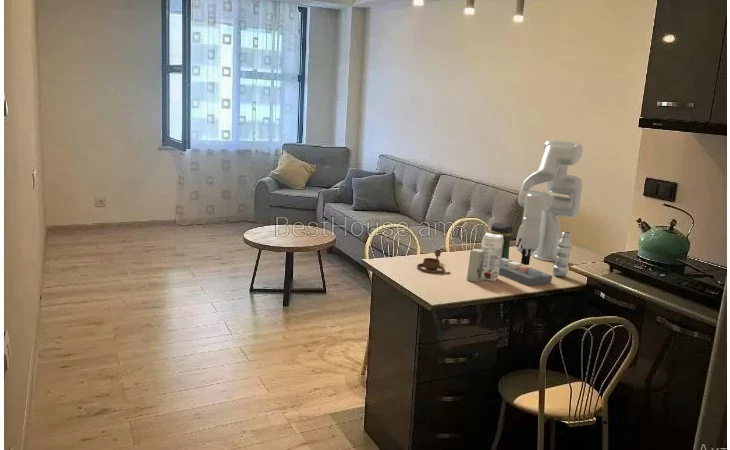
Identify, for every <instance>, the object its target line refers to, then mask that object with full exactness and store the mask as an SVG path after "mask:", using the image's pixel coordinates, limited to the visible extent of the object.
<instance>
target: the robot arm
mask: <svg viewBox="0 0 730 450" xmlns="http://www.w3.org/2000/svg"><path fill="white" fill-rule="evenodd" d="M583 153H584V152H583V146H582V144H581V143H579V142H572V141H564V140H563V141H562V140H553V139H551V140H546V141H545V142H544V143H543V153H542V156H541V158H540V162H539V164H538V165H539V166H538V168H537V170H536V171H535V172H533V173H531V174H530V175H528V176H527V177H526V179H524V181H523V182H522V184H521V186H520V190H519V192H518V193H519V194H518V197H517V203H518V204H519V206H521V207H523V214H522V221H521V224H520V225H519V229H518V231H517V235H516V241H515V247H516V248H517V249H516V250H517V252H520V253H521V254H520V255H521V260H520V264H521V265H525V266H529V265H530V261H531V256H532V257H533V258H535V259H538V260H541V261H546V262H547V261H548V262H555V261H556V256H557V242H558V241H559V239H560V233H561V227H562V225H561V221H560V219H559V216H560V217H566V218H575V217H577V216H578V214H579V212H580V205H581V199H582V190H583V189H582V188H583V181H582V180H583V179H582V178H580V177H579V176H576V175H571V174H570V175H569V174H568V168H569V166H574V165H576V163H578V162H579V161H580V160H581V158H582V156H583ZM544 183H547V185H546V187H547V190H548V191H549V192H550V193H551V194H550V193H547V192H542V191H538V190H537V191H536V190H532V189H531V188H533V187H534V186H537V185H540V184H544ZM557 194H559V195H557ZM565 195H566V196H565ZM568 196H569V197H568Z"/></svg>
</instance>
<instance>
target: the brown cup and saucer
mask: <svg viewBox="0 0 730 450" xmlns="http://www.w3.org/2000/svg"><path fill="white" fill-rule="evenodd" d="M441 254H442V253H441V250H440V249H435V252H434V256H435V258H434V257H425V258H423V262H422V263H418V264H417V265H416V267H417V270H418V271H419V272H423V273H427V274H440V276H444V275H449V274H451V272H450V271H447V272H445V271H446V270H445V269H446V268H445V267H444V266H443V265H440V264H441V263H440V262H441V261H440V259H439V257H440V256H441ZM422 267H423V268H422ZM438 269H439V270H438Z"/></svg>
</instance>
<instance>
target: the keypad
mask: <svg viewBox="0 0 730 450" xmlns="http://www.w3.org/2000/svg"><path fill="white" fill-rule="evenodd" d="M511 262H514V261H513V260H511ZM522 265H523V264H521V266H522ZM507 266H508V265H502V264H501V265H500V272H499V275H500V276H503V277H504V278H507V279H510V280H512V281H515V282H516V283H517V282H518V283H519V284H521V285H525V286H527V287H530V286H539V285H546V284H552V279H553V275H551V274H548V273H546V272H543V271H541V272H542V275H541V276H539V277H533V276H531V275H528V273H523V272H520V271H518V270H517V269H512V268H510V267H507ZM531 269H533V268H532V267H531Z"/></svg>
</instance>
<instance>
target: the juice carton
mask: <svg viewBox="0 0 730 450" xmlns="http://www.w3.org/2000/svg"><path fill="white" fill-rule="evenodd" d="M503 243H504V240H503V235H494V234H491V232H485V234H483V236H482V241H481V245H480V246H481V247H480V250H484V257H483V265H482V272H481V280H483V281H490V282H496V280H497V279H498V277H499V275H500V274H499V272H500V265H501V258H502V251H503Z"/></svg>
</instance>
